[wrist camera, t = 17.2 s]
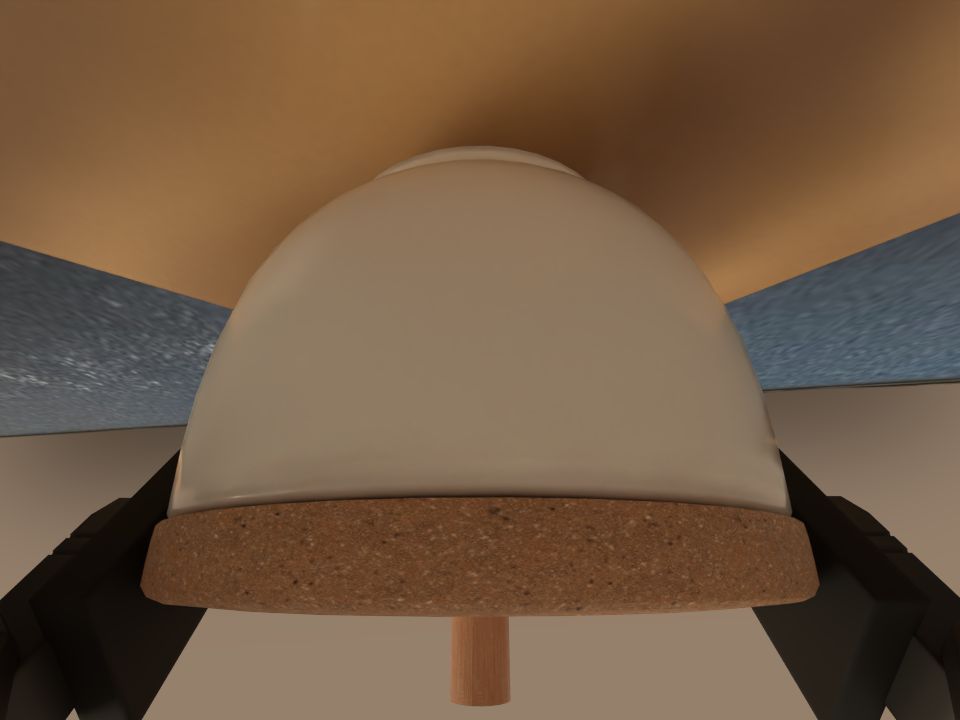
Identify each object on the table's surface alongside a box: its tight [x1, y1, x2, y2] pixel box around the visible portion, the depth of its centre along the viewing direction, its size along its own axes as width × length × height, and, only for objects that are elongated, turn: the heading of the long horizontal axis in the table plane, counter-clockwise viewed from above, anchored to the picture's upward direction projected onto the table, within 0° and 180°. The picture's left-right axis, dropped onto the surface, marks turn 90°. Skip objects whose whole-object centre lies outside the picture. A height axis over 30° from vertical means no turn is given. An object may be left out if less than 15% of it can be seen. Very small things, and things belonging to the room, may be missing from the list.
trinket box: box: [140, 146, 820, 706], centre depth 11 cm, size 11×11×9 cm
